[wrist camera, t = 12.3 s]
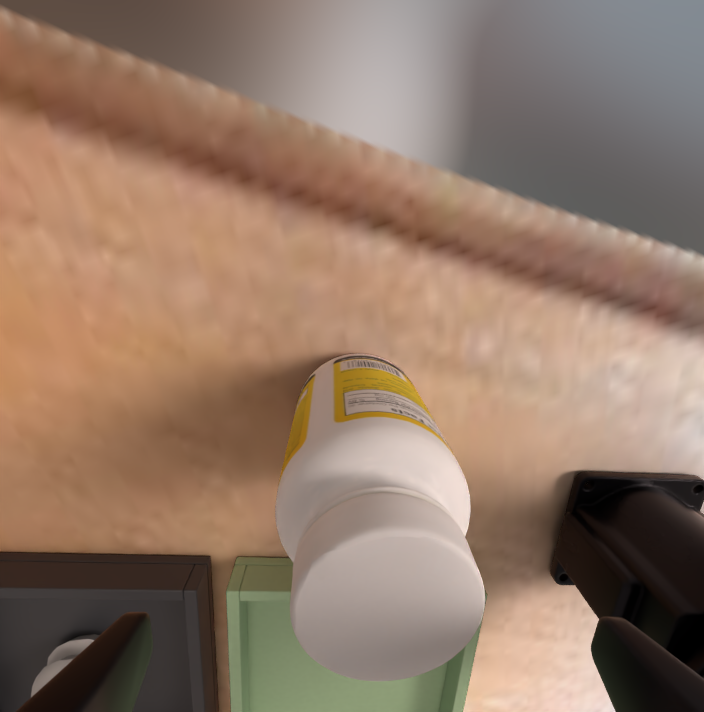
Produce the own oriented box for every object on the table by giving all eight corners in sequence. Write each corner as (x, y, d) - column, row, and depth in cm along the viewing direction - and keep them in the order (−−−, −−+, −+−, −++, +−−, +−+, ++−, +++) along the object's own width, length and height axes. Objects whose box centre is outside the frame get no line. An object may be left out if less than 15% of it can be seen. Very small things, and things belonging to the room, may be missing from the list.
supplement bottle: (336, 479, 18) (336, 740, 8) (274, 388, 16) (190, 579, 7) (437, 427, 17) (560, 643, 8) (382, 327, 16) (449, 446, 6)
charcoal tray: (210, 555, 19) (196, 590, 17) (220, 733, 22) (209, 778, 20) (-45, 551, 18) (-91, 587, 16) (7, 734, 22) (-25, 782, 20)
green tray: (472, 560, 19) (487, 595, 18) (440, 731, 23) (449, 775, 21) (236, 556, 19) (225, 591, 17) (241, 733, 22) (233, 778, 21)
